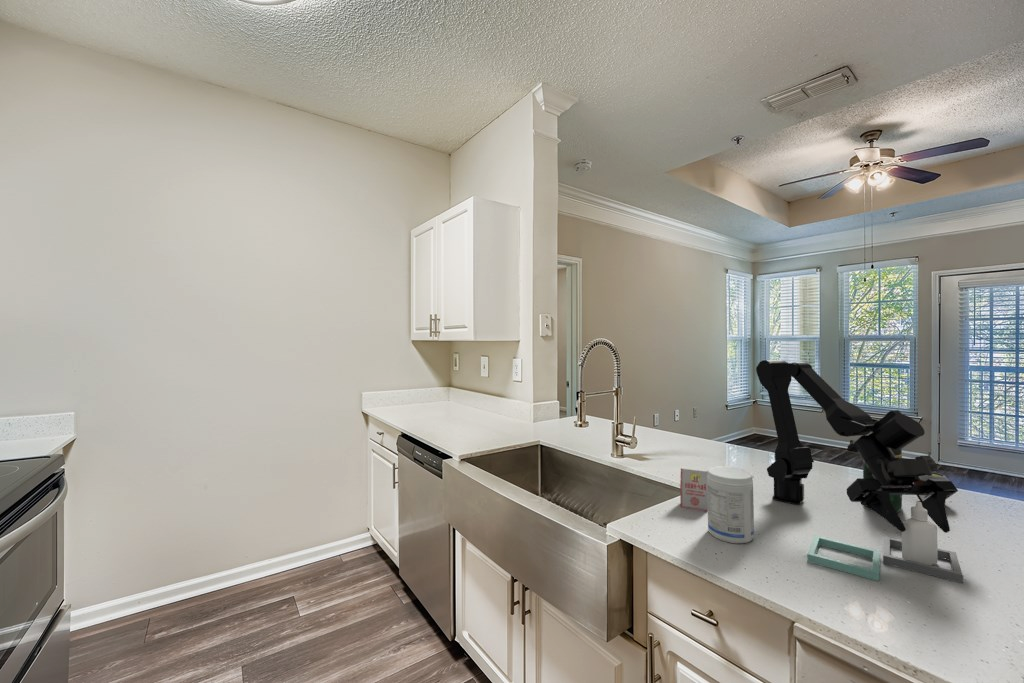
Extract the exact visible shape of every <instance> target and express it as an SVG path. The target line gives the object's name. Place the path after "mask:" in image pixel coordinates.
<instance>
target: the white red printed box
mask: <svg viewBox="0 0 1024 683" xmlns="http://www.w3.org/2000/svg"><path fill="white" fill-rule="evenodd" d="M707 475H708V470H699V469H688V468H680V482H679V483H680V486H679V487H680V488H679V491H680V494H679V496H680V499H679V500H680V508H684V509H690V510H697V511H703V512H708V503H707Z"/></svg>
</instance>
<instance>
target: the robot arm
mask: <svg viewBox="0 0 1024 683" xmlns="http://www.w3.org/2000/svg"><path fill="white" fill-rule="evenodd" d="M755 372H756V375H757V377H758V381H759V383H760V384H761V386H762V387H763V388H764V389H765V390H766V391H767V394H768V398H769V402H770V407H771V412H772V417H773V422H774V427H775V432H776V435H777V436H776V437H777V446H776V448H775V451H774V460H775V461H774V462H772V463H771V464H770V465H769V466H768V467H767V468H766V471H767V474H768V475H767V476H768V477H770V478H773V495H772V500H775V501H779V502H784V503H788V504H793V505H797V506H798V505H801V503H802V502H804V500H805V484H804V483H802V481H803V480H802V479H807V478H808V475H809V473H810V472H811V471H812V469H813V463H814V462H815V460H814V459H813V456H812V450H811V448H810V447H809V446H804V445H803V443H802V442H801V441H800V438H799V434H798V433H799V432H798V430H797V424H796V422H795V420H796V419H795V416H794V410H793V406H792V403H791V402H792V401H791V397H790V393H789V388H790V384H791V383H792V380H793V379H792V378H794V380H795V381H796V382H797V383H798V384H799V385H800V386H801V387H802V388H803V389H804V390H805V392H807V393H808V394H809V396H810V397H811V398H812V399H813V400H814V401H815V402H816V403H817V404H818V405H819V406H820V407H821V409H822V410H823V411H824V413H825V418H826V421H827V422H828V424H829V426H831V428H832V429H833V431H834V432H835V433H836V435H838V436H840V437H846V438H847V437H848V438H849V437H858V436H860V437H858V438H856V439H855V440H853V439H851V440H849V444H848V445H847V448H846V450H847V452H850V453H851V452H852V453H853V452H854V453H857V454H859V456H860V457H861V459H862V461H863V460H864V462H865V464H866V465H867V467H868V468H867V469H866V470H865V472H866V473H867V475H873V477H874V479H871V478H863V477H862V478H861V477H860V478H858V477H857V479H855V480H854V481H853V482H852V483H851V484H850V485H849V486H848V487H847V488H846V495H847V497H848V498H849V501H851V502H852V503H853V502H854V503H856V502H857V503H858V502H859V503H860V505H861V506H865V507H867V508H869V510H871V511H873V512H874V513H875V514H877V515H879V516H880V517H881V518H883V519H884V520H886V521H887V522H888V523H889V524H890V525H892V526H893V527H894V528H896V529H897V530H898V531H899V532H901V533H902V532H904V531H906V529H905V526H904V524H903V522H904V521H903V520H902V518H901V517H900V515H899V514H898V512H896V510H895V509H894V507H893V505H892V504H891V502H890V495H902V496H905V495H906V496H909V495H910V496H916V497H917V498H918V500H919V501H920V500H921V501H923V502H921V503H922V506H923V508H924V509H926V510H927V511H928V517H929V518H930V519H931V520H932V521H933V522H934V524H935V525H936V527H938V528H940V530H942V532H943V533H944V534H946V533H949V532H950V531H951V529H950V525H949V520H948V515H947V510H946V501H947V499H949V498H950V497H951V496H953V495H954V494H956V493H957V492H959V490H958V489H957V487H956V486H955V484H954V483H953V481H952V480H949V479H948V480H946V479H928V480H927V481H925V482H924V483H923V484H921V485H914V482H917V481H919V480H920V478H919V477H918V476H923V475H928V476H930V475H932V473H931V472H937V471H938V465H937V463H936V461H935V460H934V459H933V458H932V456H931V457H930V456H928V455H920V456H915V458H903V457H902V458H896V456H895V455H894V453H893V452H892V450H891V449H890V448H893V449H897V450H900V449H904V448H905V447H907V446H908V445H910V444H912V443H914V442H916V441H917V440H918V439H920V438H922V437H923V436H924V435H925V433H926V432H925V429H924V427H923V426H922V424H921V423H920V422H919V421H917V420H914V418H912V417H910V416H909V415H906V414H903V413H902V412H901V411H900V410H898V409H895V410H890V411H888V412H887V413H886V414H885V416H883V417H882V418H880V419H876V418H874V417H871V415H870V414H868V413H867V412H866V411H865V410H863V409H861V408H860V407H859V406H857V405H855V404H852V403H851V402H849V401H847V400H845V399H844V398H843V397H841V395H839V393H838V392H837V391H835V390H834V389H833V388H832V386H830V385H829V383H828V382H827V381H825V380H824V379H823V378H822V377H821V376H820V375H819V374H818V373H817V372H816V371H815V369H813V367H812V365H811V364H810V363H808V362H806V361H798V362H797V361H796V362H794V361H793V362H791V363H789V362H787V361H786V360H785V359H769V360H767V359H766V360H760V361H759V362H758V364H757V366H756V370H755Z"/></svg>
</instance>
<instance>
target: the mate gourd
mask: <svg viewBox="0 0 1024 683" xmlns="http://www.w3.org/2000/svg"><path fill="white" fill-rule="evenodd" d="M927 456H930V457H931V458H932V452H931V451H928V452H927ZM931 473H932V475H930V476H928V475H923V476H918V477H919V478H920V480H919V481H917V482H914V483H913V484H914V485H921V484H923V483H924V482H925V481H927V480H928V479H946V480H949V479H948V478H947V477H946V475H944V474H941V473H939V472H936V471H934V472H931ZM918 501H919V502H923V501H921V500H920V499H919V500H918Z"/></svg>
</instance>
